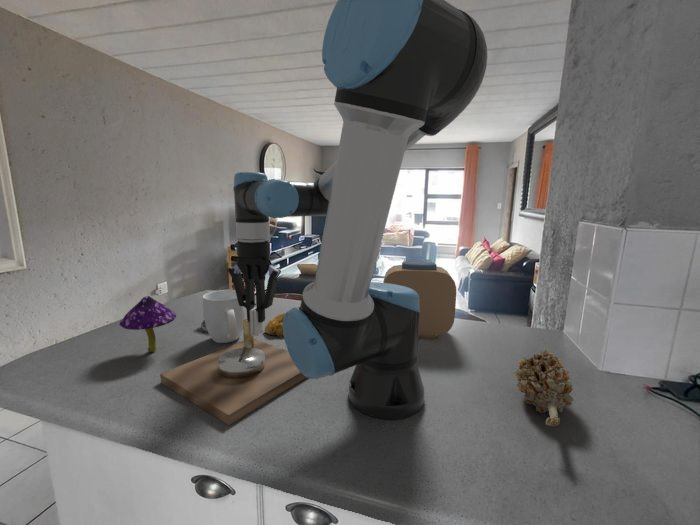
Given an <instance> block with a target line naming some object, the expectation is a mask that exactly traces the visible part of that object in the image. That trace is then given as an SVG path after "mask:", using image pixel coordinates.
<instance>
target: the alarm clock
mask: <svg viewBox="0 0 700 525" xmlns="http://www.w3.org/2000/svg"><path fill="white" fill-rule="evenodd" d="M382 283H389V284H396V285H401V286H405V287H408V288H411V289H413V290H415V291H416V292H417V294H418V295H419V309H420V313H419V330H418V339H419V338H420V339H421V338H422V339H437V336H442V335H445V334H446V333H448V332H449V331H450V330H451V329H452V328H453V325H454V323H455V318H456V317H455V316H456V306H457V305H456V304H457V286H456V282H455V280H454V278H452V276H451V275H450V273H449V272H448V271H447V269H445V268H444V267H442V266H437V264H436V262H429V261H402V262H401V264H399V265H393V266H391V267H390V268H388V269H387V271H386V272H385V274H384V277H383V282H382Z"/></svg>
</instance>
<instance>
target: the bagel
mask: <svg viewBox="0 0 700 525" xmlns="http://www.w3.org/2000/svg"><path fill="white" fill-rule="evenodd" d="M285 314H286V312H285V313H280V314H278V315H277V316H275V317H273V319H271V320H269V321H268V322H267V324H265V325H266V326H265V327H264V329H263V331H264V333H265V334H267V335H270V336H277V337H284V335H283V318H284V315H285Z"/></svg>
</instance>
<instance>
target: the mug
mask: <svg viewBox="0 0 700 525" xmlns="http://www.w3.org/2000/svg"><path fill="white" fill-rule="evenodd" d="M202 309H203V318H204V319H203V320H205V324H206V325H205V328H207V330H208V336H210V338H211V339H212V340H213V342H215V343H218V344H228V343H231V342H235V341H236V340H238V339H239V338H240V336H241V334H242V333H243V320H244V319H246V308H245V307H243V306H242V307H241V306H239V303H238V299H237V295H236V292H235V289H222V290H214V291H209V292H207V293H204V294H203V295H202Z"/></svg>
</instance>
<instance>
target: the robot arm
mask: <svg viewBox="0 0 700 525" xmlns="http://www.w3.org/2000/svg"><path fill="white" fill-rule="evenodd" d="M330 13H331V14H330V16H329V19H328V21H327V25H326V27H325V31H324V37H323V41H322V47H321V49H322V50H321V60H322V63H323V64H324V66H323V71H324V74H325V76H326V78H327V79H328V81H329V82H330V83H331V84H332V85H333V86H334V87H335V88H336V91H335V97H334V103H333V106H335V108H336V110H337V111H338V114H340V117H341V119H342V127H341V134H340V138H339V144H338V150H337V155H336V160H335V161H334V162H333V163H332V164H331V165H330V166H329V168H327V169H326V170H325V172H323V174H321V176H319V178H318V179H317V180H316V181H314V182H313V181H312V182H309V181H307V182H306V181H291V180H289V181H288V180H284V179H275V178H271V179H268V176H267V174H265V173H264V172H252V171H241V172H236V173H235V174H234V176H233V188H232V189H233V194H234V195H233V196H234V212H235V213H234V214H235V233H236V234H235V235H236V236H235V237H236V239H237V240H238V241H237V242H236V255H237V260H236V264H235V265H234V266H232V267H229V268H228V269H227V272H228V273H229V275H230V277H231V280H232V283H233V287H234V290H235V292H236V295H237V299H238V303H239V306H241V307H242V306H243V307H245V310H246V319H247V320H248V321H250V331H251V336H255V337H259V336H260V335H261V334H262V333H263V331H264V329H263V322H265V320H266V310H267V309H268V308H270V307H271V306H273V303H274V297H275V293H276V287H277V282H278V278H279V276H280V275H281V273H282V271H281V269H280V268H275V267H274V266H273V264H272V261H271V259H270V255H271V249H270V248H271V246H270V245H271V244H270V241H269V240H268V239H269V238H270V219H269V218H271V219H283V218H291V217H325V222H324V228H323V231H322V233H323V234H322V237H321V238H322V239H321V245H320V251H319V256H318V262H317V266H316V267H317V268H316V272H315V278H314V281H312V282H311V283H309V284H307V285H306V286H305V287H304V289H303V290H302V295H301V302H300V306H299V307H292V308H291V309H289V310H288V311H286V312H285V313H286V314H285V315H284V318H283V335H284V336H283V339H284V343H285V346H286V350H287V351H288V352H289V355H290V357H291V359H292V361H293V363H294V364H295V366H296V367H297V369H298V370H299V371H300V372H301V373H302V374H303V375H304V376H306V378H308V379H311V380H319V379H321V378H322V379H323V378H326V377H328V376H330V377H332V376H334V375H335V374H337V373H340V372H342V371H344V370H347V369H349V368H352V367H354V369H353V372H352V374H351V377H350V380H349V382H348V383H349V384H348V398H349V401H350V403H351V405H352V407H354V408H355V409H357V410H358V411H359V412H361V413H363V414H365V415H368V416H370V417H372V418H378V419H382V420H397V419H398V420H399V419H404V418H408V417H410V416H414V415H415V414H416V413H418V412H419V411H420V410H421V409H422V408H423V406H424V402H425V386H424V383H423V379H422V376H421V373H420V370H419V366H418V347H419V346H418V345H419V338H418V330H419V313H420V309H419V295H418V294H417V292H416V291H415V290H413V289H411V288H408V287H405V286H401V285H396V284H389V283H383V282H377V281H372V279H373V276H374V273H375V272H374V270H375V268H376V264H377V260H378V256H379V251H380V249H381V248H380V247H381V244H382V241H383V237H384V232H385V228H386V226H387V221H388V217H389V214H390V209H391V207H392V206H391V205H392V201H393V199H394V198H393V197H394V194H395V191H396V186H397V183H398V179H399V176H400V172H401V167H402V163H403V160H404V156H405V152H407V151H408V150H410V148H412V147H413V146H414V145H416V143H418V142H419V141H421V140H422V138H424V137H425V136H427V137H428V136H429V137H434V136H436V135H437V134H438V133H440V132H441V131H442V130H444V129H445V128H447V126H449V125H450V124H451V123H453V122H454V121H455V120H456V118H458V117H459V116H460V115H461V114H462V113H463V112H464V110H466V108H467V107H468V106H469V105H470V103H471V102H472V101H473V99H474V98H475V96H476V94H477V93H478V92H479V89H480V88H481V85H482V83H483V80H484V77H485V74H486V71H487V63H488V46H487V42H486V37H485V34H484V32H483V30H482V28H481V27H480V26H479V24H478V22H477V20H476V19H474V18H473V17H472V16H471V15H470V14H468V13H467V12H465V11H463V10H461V9H460V8H457V7H455V6H454V5H452V4H451V3H449V2H448V1H446V0H337V2H336V3H335V5H334V7H333V8H332V12H330ZM267 274H268V277H269V278H268V279H267V285H266V286H265V283H266V282H265V281H266V275H267Z"/></svg>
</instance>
